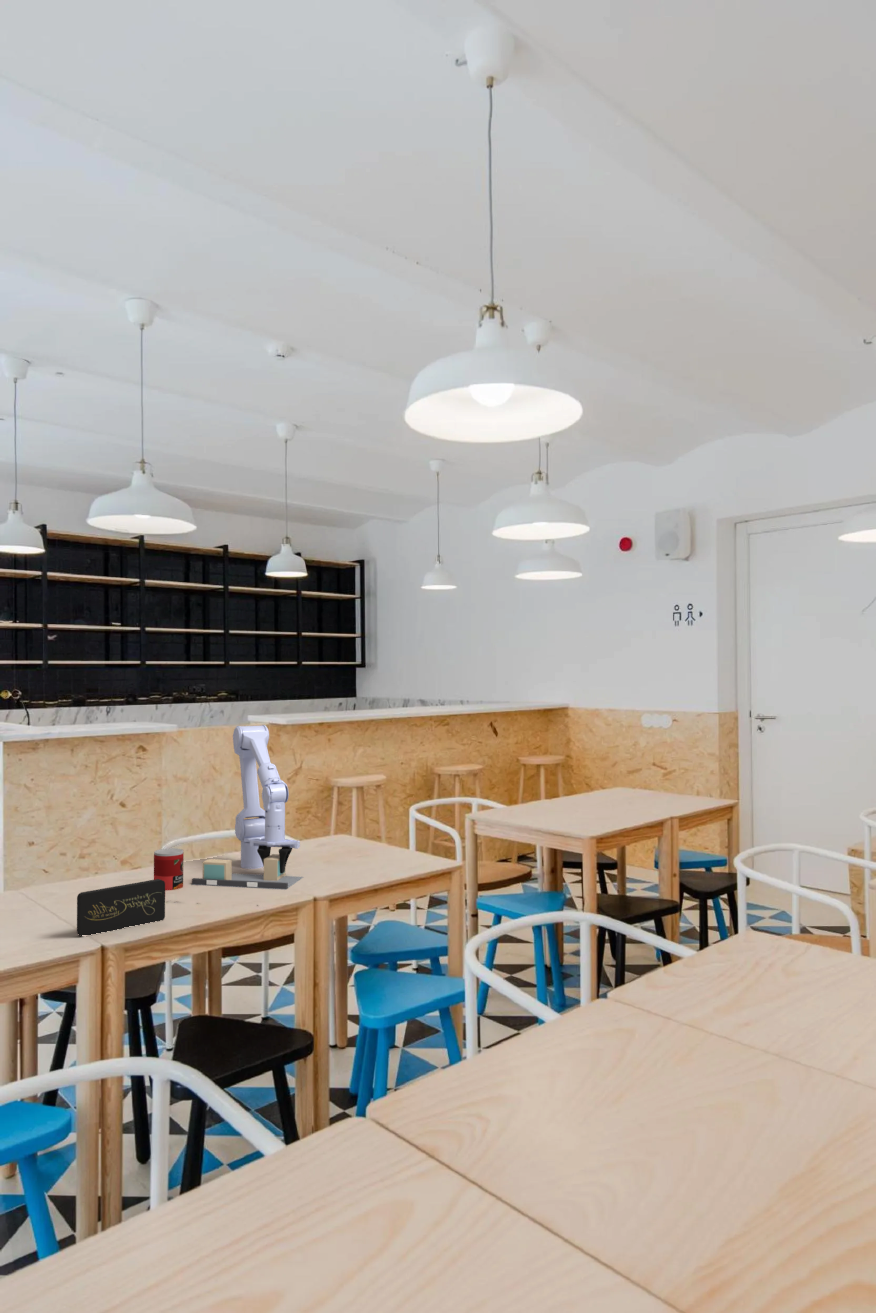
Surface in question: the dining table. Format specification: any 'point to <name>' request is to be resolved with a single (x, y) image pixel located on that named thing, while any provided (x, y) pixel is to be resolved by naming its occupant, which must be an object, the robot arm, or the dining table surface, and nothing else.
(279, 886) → the shelf board
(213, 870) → the faced carton
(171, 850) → the canned food
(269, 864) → the carton
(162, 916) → the nameplate
